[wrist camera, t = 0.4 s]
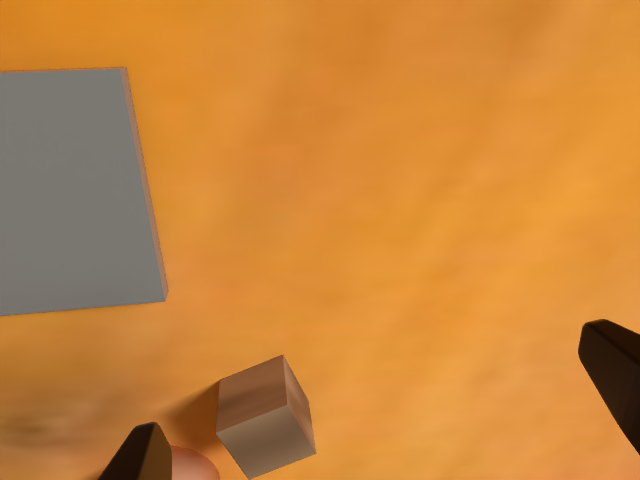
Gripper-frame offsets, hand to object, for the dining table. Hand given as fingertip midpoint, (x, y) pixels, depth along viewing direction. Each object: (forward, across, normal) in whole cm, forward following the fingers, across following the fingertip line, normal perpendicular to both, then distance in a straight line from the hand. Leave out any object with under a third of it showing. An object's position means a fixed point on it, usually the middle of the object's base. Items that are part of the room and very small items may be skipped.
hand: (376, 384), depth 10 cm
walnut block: (+13, +5, +14) cm, 20 cm away
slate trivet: (+14, +13, 0) cm, 19 cm away
